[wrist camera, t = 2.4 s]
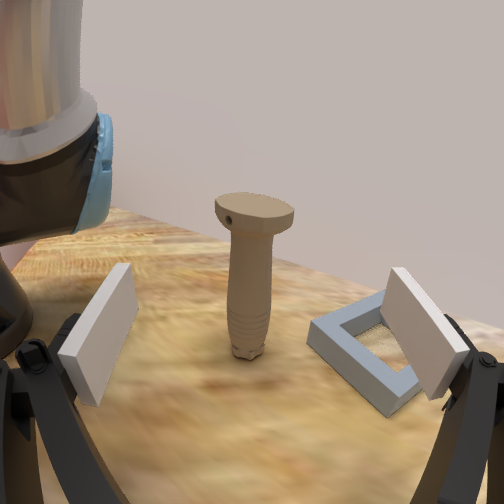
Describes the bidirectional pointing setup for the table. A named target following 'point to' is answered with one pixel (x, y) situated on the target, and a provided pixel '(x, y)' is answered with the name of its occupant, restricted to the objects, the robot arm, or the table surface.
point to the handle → (250, 265)
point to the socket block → (362, 355)
